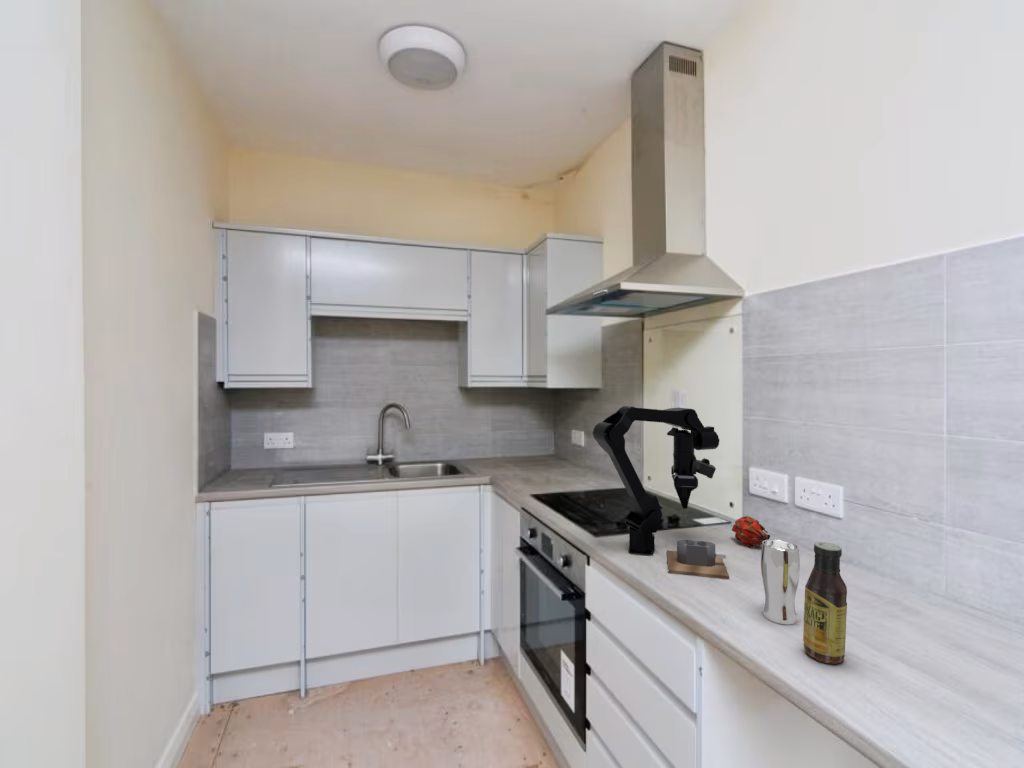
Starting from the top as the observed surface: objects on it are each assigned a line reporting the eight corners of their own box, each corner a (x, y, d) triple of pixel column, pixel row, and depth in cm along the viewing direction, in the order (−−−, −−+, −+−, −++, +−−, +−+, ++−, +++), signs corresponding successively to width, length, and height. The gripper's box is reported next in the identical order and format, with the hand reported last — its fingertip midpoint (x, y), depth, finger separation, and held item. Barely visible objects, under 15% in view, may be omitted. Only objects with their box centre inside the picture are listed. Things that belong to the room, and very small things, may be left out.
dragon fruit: (738, 541, 147) (763, 561, 135) (719, 527, 146) (742, 546, 134) (756, 519, 147) (782, 538, 135) (736, 505, 145) (761, 522, 133)
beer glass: (795, 612, 100) (795, 540, 100) (803, 628, 93) (803, 552, 93) (758, 606, 102) (758, 537, 102) (763, 622, 96) (764, 548, 95)
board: (668, 573, 120) (668, 569, 120) (666, 553, 133) (666, 550, 133) (729, 579, 116) (729, 576, 116) (720, 558, 130) (720, 555, 130)
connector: (677, 563, 124) (677, 544, 124) (676, 557, 128) (676, 538, 128) (726, 568, 121) (726, 548, 121) (723, 561, 125) (724, 542, 125)
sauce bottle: (795, 646, 87) (795, 538, 87) (827, 644, 88) (828, 537, 87) (821, 668, 81) (822, 551, 80) (855, 666, 81) (856, 550, 81)
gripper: (718, 457, 128) (717, 515, 128) (709, 447, 146) (709, 498, 146) (674, 455, 131) (674, 512, 131) (671, 446, 149) (671, 495, 149)
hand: (683, 504), depth 140 cm, fingers open, 9 cm apart
